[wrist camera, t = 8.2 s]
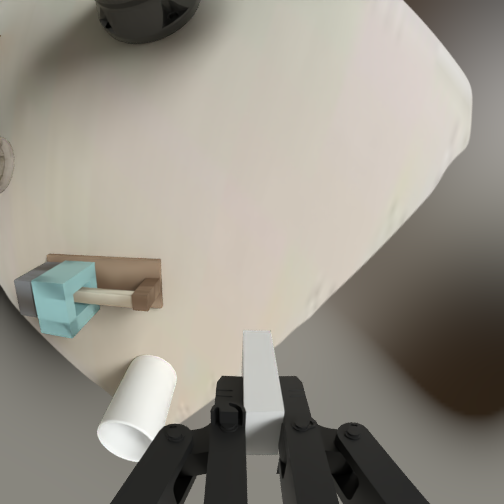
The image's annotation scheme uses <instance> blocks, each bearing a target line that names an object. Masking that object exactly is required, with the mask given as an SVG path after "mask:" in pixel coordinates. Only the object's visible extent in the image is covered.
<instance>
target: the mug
mask: <svg viewBox="0 0 504 504" xmlns="http://www.w3.org/2000/svg"><path fill="white" fill-rule="evenodd" d="M13 170H14V154H13V149H12V147H11V145H10V143H9V142H8V141H7V140H6V139H5V138H3V137H0V193H1V192H2V191H4V190H5V188H6V187H7V186H8V185H9V182H10V180H11V178H12V174H13Z"/></svg>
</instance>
